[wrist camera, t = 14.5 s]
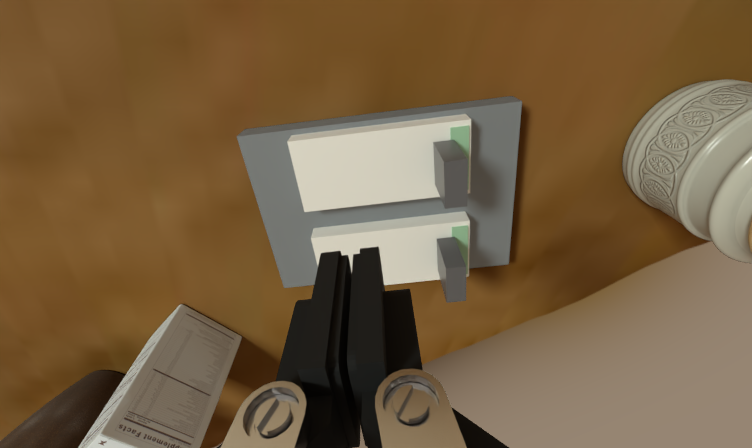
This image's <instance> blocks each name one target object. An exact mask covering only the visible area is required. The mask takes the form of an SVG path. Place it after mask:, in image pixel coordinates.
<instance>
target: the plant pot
mask: <svg viewBox="0 0 752 448" xmlns="http://www.w3.org/2000/svg"><path fill="white" fill-rule="evenodd" d="M124 377H125V375H123V374H120V373H117V372H114V371H108V370H100V371H95V372H92V373H90V374H89V375H87V376H85V377H84V378H82V379H81V380H79V381H78V382H76V383H75V384H73V385H72V386H70V387H69V388H68V389H66V390H65V391H63V392H62V393H61V394H59V395H58V396H56V397H55V398H54V399H52V400H51V401H49V402H48V403H47V404H46V405H44V406H43V407H42V408H40V409H39V410H38V411H36V412H35V413H34V414H33V415H31V416H30V417H29V418H28V419H26V420H25V421H24V422H23V423H22V424H20V425H19V426H18V427H17V428H16V429H14V430H13V431H12V432H11V433H9V434H8V435H7V436H6V437H5V438H4V439H2V440H1V441H0V448H78V447H79V446H80V444H81V442H82V441H83V439H84V438H85V436H86V435H87V433H88V432H89V430H90V429H91V427H92V426H93V424H94V423H95V421H96V420H97V418H98V417H99V415H100V414H101V412H102V410H103V409H104V407H105V406H106V404H107V403H108V401H109V400H110V398H111V397H112V395H113V394H114V392H115V391H116V389H117V387H118V386H119V384H120V383H121V381H122V380H123V378H124Z"/></svg>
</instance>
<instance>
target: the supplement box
mask: <svg viewBox="0 0 752 448" xmlns="http://www.w3.org/2000/svg"><path fill="white" fill-rule="evenodd" d="M241 339H242V336H240V335H238V334H236V333H235V332H233V331H231V330H229V329H227V328H225V327H223V326H222V325H220V324H218V323H216V322H214V321H213V320H211V319H209V318H207V317H205V316H203V315H201V314H200V313H198V312H196V311H194V310H192V309H190V308H189V307H187V306H185V305H183V304H180V305H179V306H178V307H177V308H176V310H175V311H174V312H173V313H172V314H171V315H170V316H169V317H168V318H167V319H166V320H165V321H164V323H163V324H162V325H161V326H160V327H159V328H158V329H157V330H156V332H155V333H154V334H153V335H152V336H151V338H150V339H149V340H148V342H147V343H146V345H145V347H144V348H143V350H142V351H141V353H140V354H139V356H138V357H137V359H136V360H135V362H134V363H133V365H132V366H131V368H130V369H129V371H128V372H127V374H126V375H125V377H124V378H123V380H122V381H121V383H120V384H119V386H118V387H117V389H116V391H115V392H114V394H113V395H112V397H111V398H110V400H109V401H108V403H107V404H106V406H105V407H104V409H103V410H102V412H101V414H100V415H99V417H98V418H97V420H96V421H95V423H94V424H93V426H92V427H91V429H90V430H89V432H88V433H87V435H86V436H85V438H84V439H83V441H82V442H81V444H80V446H79V447H78V448H200V446H201V444H202V441H203V439H204V436H205V433H206V431H207V428H208V426H209V423H210V420H211V418H212V415H213V413H214V411H215V408H216V405H217V403H218V401H219V398H220V395H221V392H222V389H223V386H224V384H225V381H226V379H227V376H228V373H229V371H230V368H231V366H232V363H233V360H234V358H235V355H236V353H237V350H238V348H239V345H240V342H241Z"/></svg>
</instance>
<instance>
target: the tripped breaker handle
mask: <svg viewBox="0 0 752 448" xmlns="http://www.w3.org/2000/svg"><path fill="white" fill-rule="evenodd" d="M433 148H434V174H435V186H436V188H437V191H438V193H439V195H440V198H441V200H442V203H443V205H444V208H445V209H449V208H458V207H467V197H468V159H467V157H466V156H465V154H464V153H463V152H462V150H461V149H460V147H459V146H458V145H457V143H456V142H455V140H447V141H438V142H433Z"/></svg>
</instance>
